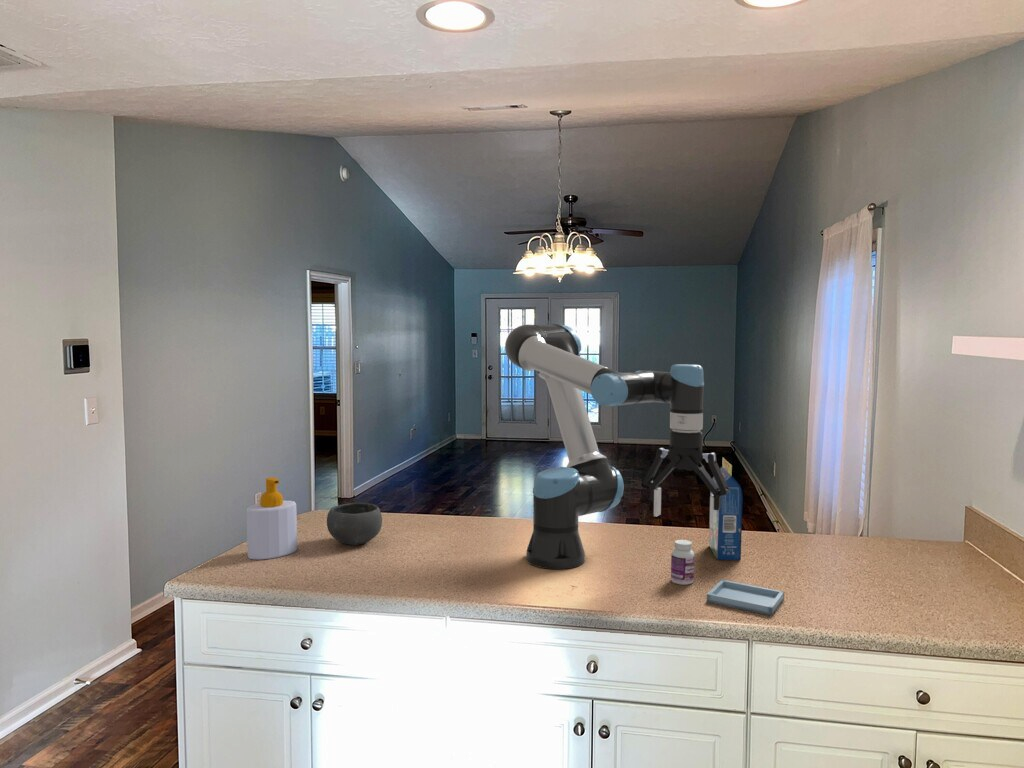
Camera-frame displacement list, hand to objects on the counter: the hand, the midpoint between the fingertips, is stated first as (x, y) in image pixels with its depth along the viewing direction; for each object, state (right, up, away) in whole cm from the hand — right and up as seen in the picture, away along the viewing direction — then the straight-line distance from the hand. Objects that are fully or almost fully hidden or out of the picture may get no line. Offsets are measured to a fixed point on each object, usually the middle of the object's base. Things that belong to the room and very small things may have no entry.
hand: (684, 519), depth 173 cm
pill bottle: (0, -15, +1) cm, 15 cm away
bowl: (-85, -12, +31) cm, 91 cm away
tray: (+11, -16, -11) cm, 22 cm away
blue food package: (+16, -14, +23) cm, 31 cm away
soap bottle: (-104, -13, +21) cm, 107 cm away
